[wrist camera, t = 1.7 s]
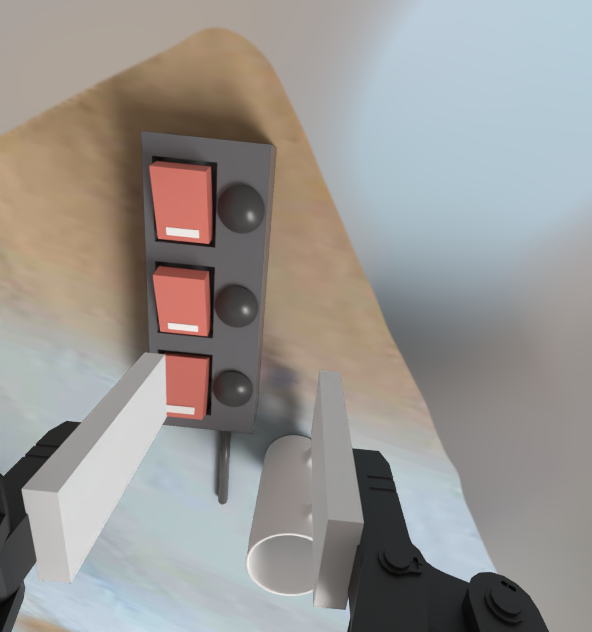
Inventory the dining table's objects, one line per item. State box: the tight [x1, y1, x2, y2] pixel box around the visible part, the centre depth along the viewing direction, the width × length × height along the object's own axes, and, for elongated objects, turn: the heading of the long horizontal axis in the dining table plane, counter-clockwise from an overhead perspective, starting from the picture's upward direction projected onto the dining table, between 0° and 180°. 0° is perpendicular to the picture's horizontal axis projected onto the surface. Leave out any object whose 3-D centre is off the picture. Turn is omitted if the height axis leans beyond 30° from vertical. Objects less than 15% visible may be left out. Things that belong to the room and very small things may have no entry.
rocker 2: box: [153, 266, 211, 336], centre depth 31 cm, size 4×5×2 cm
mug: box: [246, 435, 313, 596], centre depth 35 cm, size 10×7×12 cm, turn 149°
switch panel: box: [141, 131, 276, 504], centre depth 35 cm, size 9×36×5 cm, turn 174°
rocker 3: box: [163, 352, 210, 420], centre depth 33 cm, size 4×5×2 cm
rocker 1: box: [149, 161, 213, 244], centre depth 28 cm, size 4×5×2 cm
